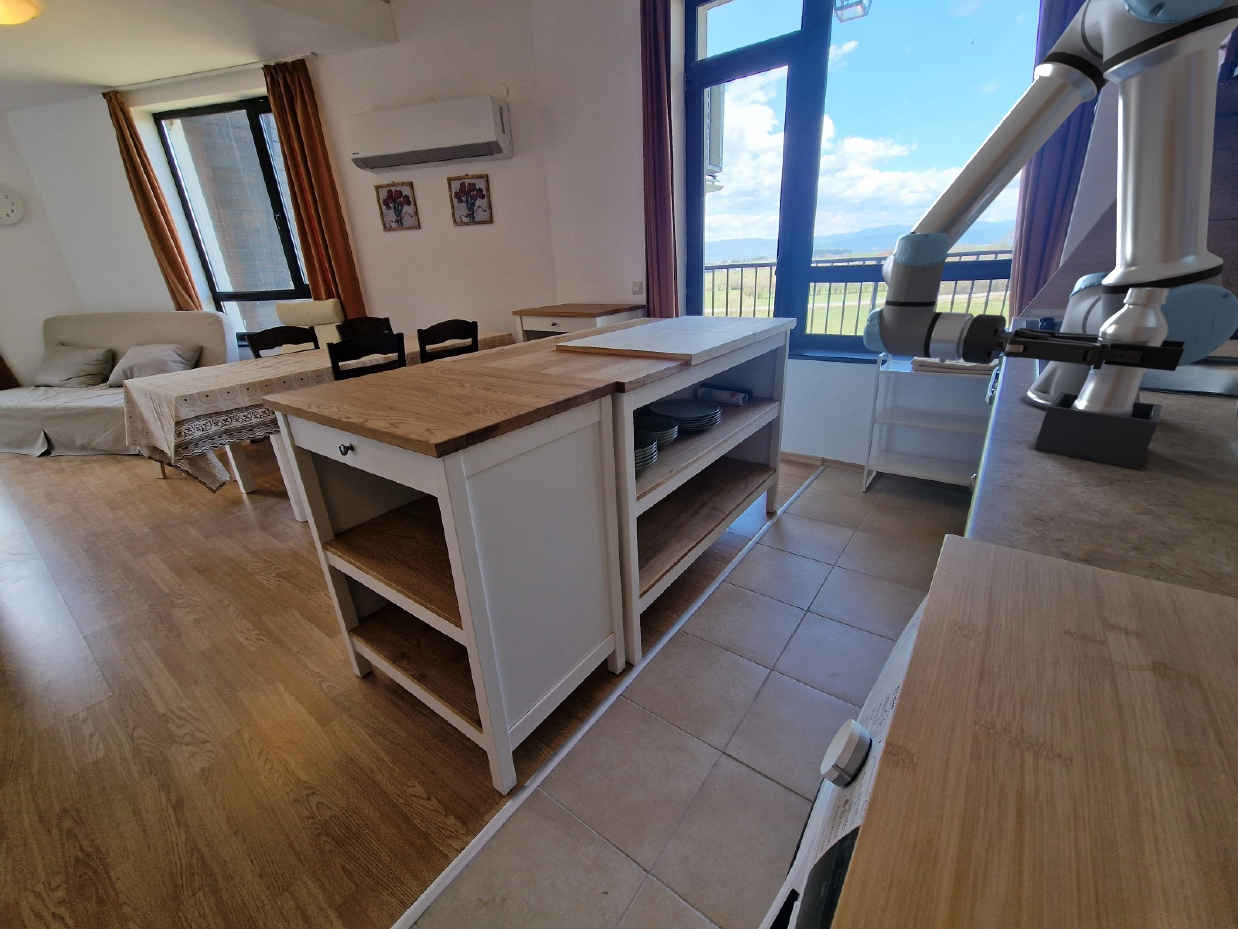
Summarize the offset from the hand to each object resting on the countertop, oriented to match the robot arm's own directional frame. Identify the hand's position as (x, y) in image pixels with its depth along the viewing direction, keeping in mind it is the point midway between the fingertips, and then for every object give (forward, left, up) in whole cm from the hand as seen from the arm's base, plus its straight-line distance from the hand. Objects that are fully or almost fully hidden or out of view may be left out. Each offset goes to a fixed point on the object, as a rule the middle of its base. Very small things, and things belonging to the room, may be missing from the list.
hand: (1179, 355), depth 62 cm
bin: (0, -5, -14) cm, 15 cm away
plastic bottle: (0, -5, -12) cm, 13 cm away
